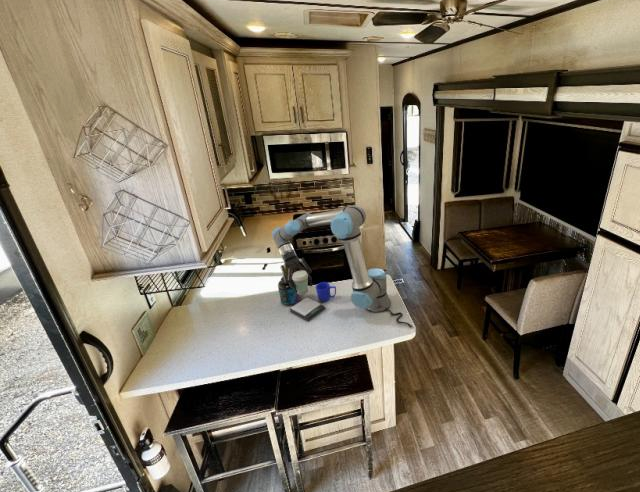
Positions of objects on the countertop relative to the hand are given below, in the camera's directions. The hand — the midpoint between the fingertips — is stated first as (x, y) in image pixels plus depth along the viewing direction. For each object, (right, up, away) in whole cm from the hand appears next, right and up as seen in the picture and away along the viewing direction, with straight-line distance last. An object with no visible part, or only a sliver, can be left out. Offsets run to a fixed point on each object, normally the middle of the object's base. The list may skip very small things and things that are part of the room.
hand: (304, 289), depth 182 cm
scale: (-1, -15, +11) cm, 18 cm away
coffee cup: (-2, -3, +4) cm, 5 cm away
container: (-14, -11, +20) cm, 27 cm away
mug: (+8, -11, +21) cm, 25 cm away
